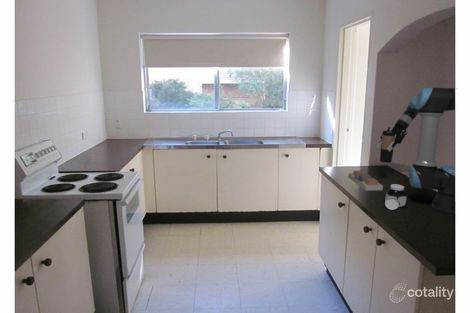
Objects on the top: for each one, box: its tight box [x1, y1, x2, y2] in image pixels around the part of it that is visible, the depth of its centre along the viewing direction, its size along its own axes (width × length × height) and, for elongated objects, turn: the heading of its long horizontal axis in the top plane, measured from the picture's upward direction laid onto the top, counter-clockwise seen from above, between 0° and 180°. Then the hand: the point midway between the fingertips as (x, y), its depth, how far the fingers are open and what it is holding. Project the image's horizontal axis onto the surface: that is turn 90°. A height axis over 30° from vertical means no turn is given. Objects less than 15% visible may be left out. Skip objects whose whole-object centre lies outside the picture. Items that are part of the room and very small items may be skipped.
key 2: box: [364, 177, 379, 185], centre depth 219 cm, size 6×6×3 cm
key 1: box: [352, 170, 367, 177], centre depth 236 cm, size 6×6×3 cm
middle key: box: [359, 173, 372, 181], centre depth 228 cm, size 6×6×3 cm
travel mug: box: [379, 130, 396, 164], centre depth 223 cm, size 8×8×20 cm
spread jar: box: [384, 183, 408, 211], centre depth 187 cm, size 12×11×12 cm
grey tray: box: [347, 172, 384, 192], centre depth 228 cm, size 28×11×3 cm, turn 4°
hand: (383, 149), depth 222 cm, fingers closed on travel mug, 7 cm apart
